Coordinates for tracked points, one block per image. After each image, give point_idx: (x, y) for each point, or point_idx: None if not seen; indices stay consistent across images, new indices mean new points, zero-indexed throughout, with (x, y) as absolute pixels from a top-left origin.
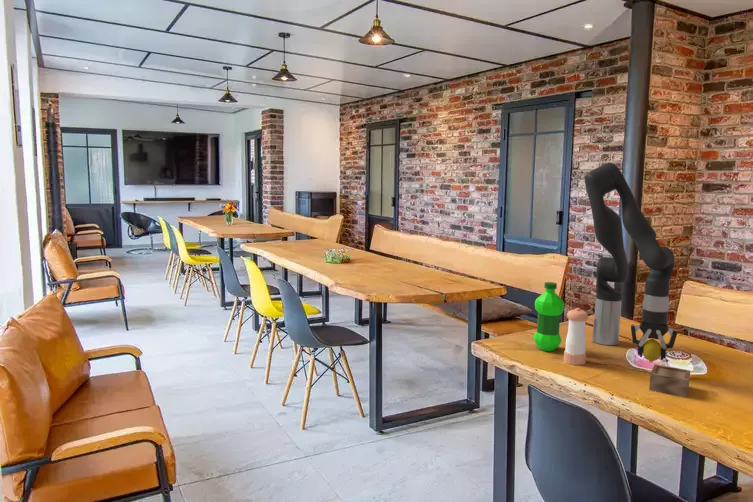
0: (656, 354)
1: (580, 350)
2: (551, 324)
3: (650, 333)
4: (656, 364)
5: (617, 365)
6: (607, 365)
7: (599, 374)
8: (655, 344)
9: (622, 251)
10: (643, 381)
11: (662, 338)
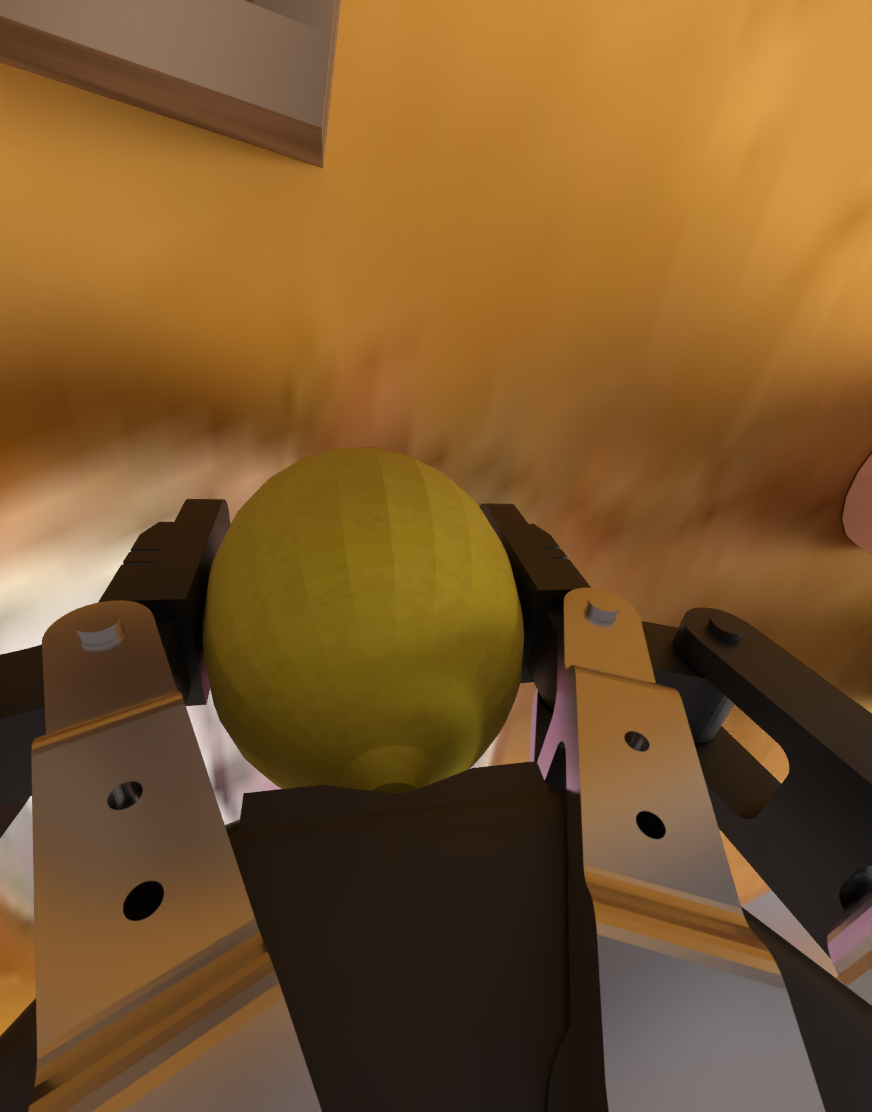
0: (289, 476)
1: None
2: None
3: (539, 955)
4: (281, 106)
5: (609, 530)
6: (695, 494)
7: None
8: (320, 628)
9: None
10: (453, 35)
11: (60, 842)
